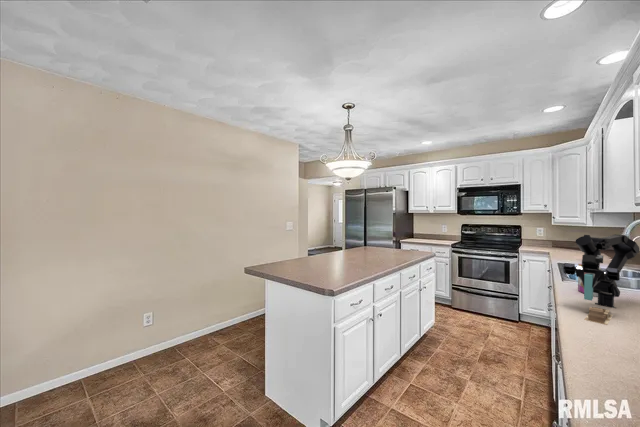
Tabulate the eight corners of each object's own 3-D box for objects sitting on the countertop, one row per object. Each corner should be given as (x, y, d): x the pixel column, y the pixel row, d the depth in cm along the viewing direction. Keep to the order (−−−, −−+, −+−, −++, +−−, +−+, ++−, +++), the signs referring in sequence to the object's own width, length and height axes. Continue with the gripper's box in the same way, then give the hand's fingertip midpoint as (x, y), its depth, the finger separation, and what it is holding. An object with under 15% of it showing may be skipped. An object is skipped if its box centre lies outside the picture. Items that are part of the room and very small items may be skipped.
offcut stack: (589, 316, 125) (589, 306, 125) (605, 320, 121) (605, 310, 121) (587, 319, 122) (587, 309, 121) (603, 323, 118) (604, 312, 118)
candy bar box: (577, 291, 168) (577, 263, 168) (587, 291, 167) (587, 263, 167) (590, 296, 157) (591, 267, 157) (601, 297, 156) (601, 267, 156)
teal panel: (585, 296, 132) (586, 273, 132) (593, 298, 130) (593, 274, 130) (584, 299, 129) (584, 274, 128) (591, 300, 127) (592, 275, 127)
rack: (591, 312, 133) (591, 305, 133) (612, 317, 127) (612, 309, 127) (583, 322, 121) (584, 313, 121) (607, 327, 116) (607, 318, 116)
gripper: (564, 246, 139) (559, 272, 131) (619, 250, 125) (617, 279, 117) (566, 260, 144) (562, 286, 137) (620, 266, 130) (618, 295, 123)
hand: (588, 286), depth 128 cm, fingers closed on teal panel, 2 cm apart
